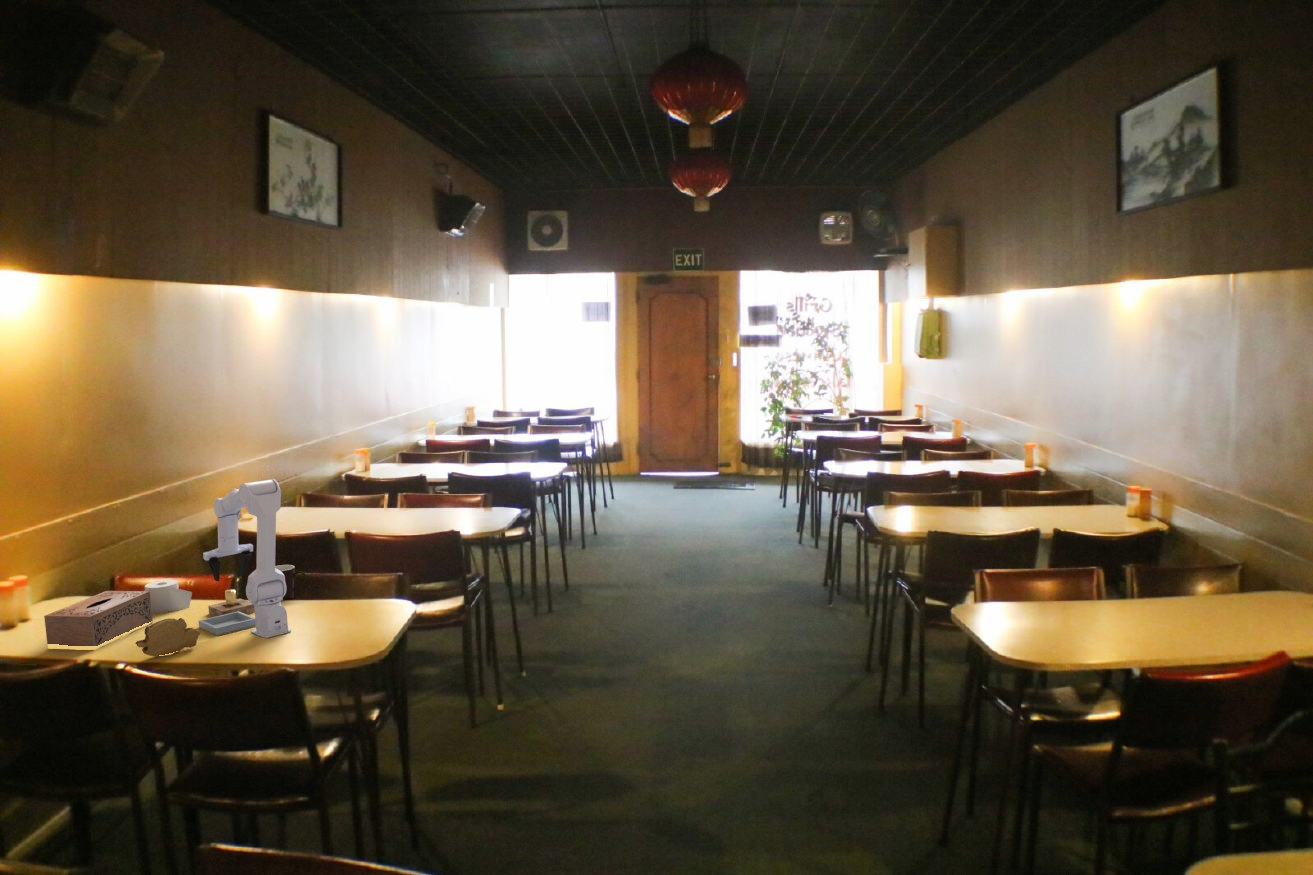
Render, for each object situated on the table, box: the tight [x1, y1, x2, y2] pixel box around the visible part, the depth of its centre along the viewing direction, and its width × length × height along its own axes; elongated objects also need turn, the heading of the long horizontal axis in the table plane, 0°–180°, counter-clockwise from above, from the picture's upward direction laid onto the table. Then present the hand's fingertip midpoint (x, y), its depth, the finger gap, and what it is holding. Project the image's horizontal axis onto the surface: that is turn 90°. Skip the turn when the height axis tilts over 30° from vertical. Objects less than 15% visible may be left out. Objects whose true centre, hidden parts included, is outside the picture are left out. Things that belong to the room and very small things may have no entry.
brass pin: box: [224, 588, 237, 608], centre depth 323 cm, size 3×3×7 cm
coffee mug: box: [275, 564, 307, 601], centre depth 338 cm, size 12×9×10 cm
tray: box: [198, 611, 256, 637], centre depth 309 cm, size 12×12×2 cm
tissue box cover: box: [44, 590, 153, 646], centre depth 306 cm, size 26×14×10 cm, turn 171°
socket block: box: [207, 598, 255, 617], centre depth 323 cm, size 10×10×3 cm
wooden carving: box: [135, 617, 201, 657], centre depth 286 cm, size 16×5×10 cm, turn 139°
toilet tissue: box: [144, 579, 193, 614], centre depth 331 cm, size 9×13×9 cm
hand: (229, 577), depth 322 cm, fingers open, 7 cm apart
